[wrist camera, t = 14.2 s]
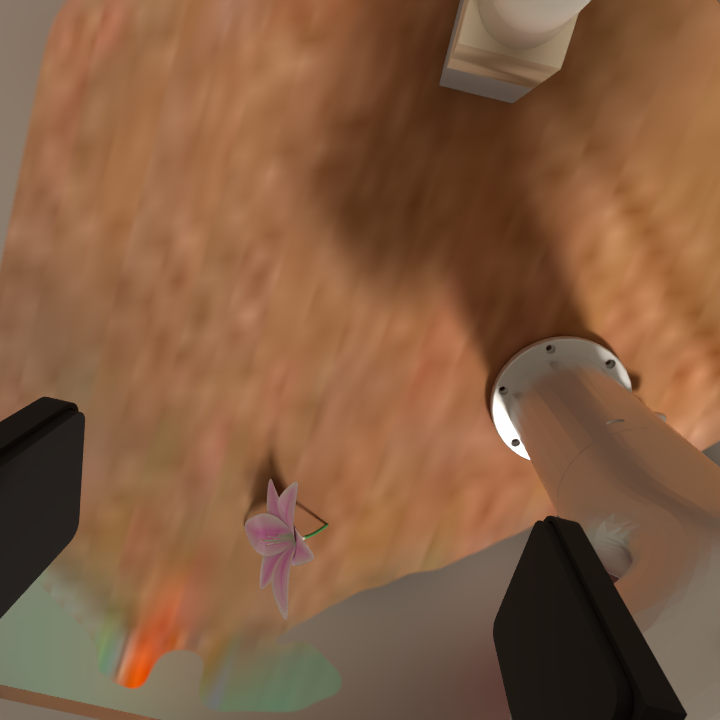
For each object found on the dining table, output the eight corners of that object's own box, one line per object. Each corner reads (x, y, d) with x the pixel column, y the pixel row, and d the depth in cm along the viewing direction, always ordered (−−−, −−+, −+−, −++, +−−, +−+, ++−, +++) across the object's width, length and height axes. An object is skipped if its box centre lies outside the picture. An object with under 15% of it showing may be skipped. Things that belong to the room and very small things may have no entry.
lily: (324, 443, 52) (258, 478, 44) (386, 545, 50) (328, 602, 42) (260, 488, 58) (192, 526, 50) (312, 581, 56) (250, 635, 48)
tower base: (538, 17, 38) (564, -14, 32) (512, 103, 40) (532, 89, 34) (460, -3, 38) (473, -37, 32) (438, 85, 40) (446, 68, 34)
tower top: (564, -14, 32) (601, -57, 27) (532, 89, 34) (560, 69, 29) (473, -37, 32) (491, -86, 27) (446, 67, 34) (457, 43, 28)
